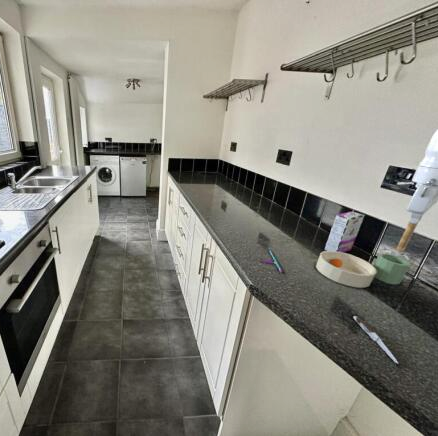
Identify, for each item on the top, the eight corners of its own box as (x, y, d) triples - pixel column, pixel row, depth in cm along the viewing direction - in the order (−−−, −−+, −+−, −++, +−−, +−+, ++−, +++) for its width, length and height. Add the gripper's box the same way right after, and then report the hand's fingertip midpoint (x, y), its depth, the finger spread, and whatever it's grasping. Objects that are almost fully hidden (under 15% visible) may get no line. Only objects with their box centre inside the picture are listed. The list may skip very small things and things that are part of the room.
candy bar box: (338, 245, 102) (351, 211, 96) (351, 250, 98) (366, 215, 92) (322, 250, 98) (335, 214, 92) (335, 256, 94) (350, 218, 88)
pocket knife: (351, 318, 63) (354, 313, 62) (354, 319, 63) (357, 313, 62) (394, 366, 50) (398, 360, 50) (398, 367, 50) (403, 361, 49)
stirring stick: (403, 251, 76) (430, 199, 69) (402, 252, 75) (429, 199, 68) (396, 248, 77) (421, 197, 70) (394, 250, 76) (420, 198, 69)
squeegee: (257, 248, 95) (270, 250, 94) (257, 250, 96) (270, 252, 95) (267, 269, 81) (282, 271, 80) (266, 271, 82) (281, 273, 81)
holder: (402, 280, 80) (412, 261, 76) (396, 288, 76) (407, 268, 72) (373, 269, 85) (382, 251, 82) (366, 276, 81) (375, 256, 78)
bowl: (375, 279, 80) (382, 266, 78) (360, 295, 72) (367, 281, 70) (325, 259, 91) (330, 247, 89) (307, 270, 83) (312, 257, 81)
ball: (342, 267, 85) (345, 260, 83) (338, 270, 83) (341, 262, 82) (332, 263, 87) (334, 256, 86) (328, 265, 85) (331, 258, 84)
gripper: (447, 184, 59) (422, 232, 64) (457, 176, 70) (435, 218, 75) (412, 179, 64) (391, 224, 69) (426, 172, 75) (407, 212, 80)
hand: (414, 221), depth 72 cm, fingers closed on stirring stick, 2 cm apart
